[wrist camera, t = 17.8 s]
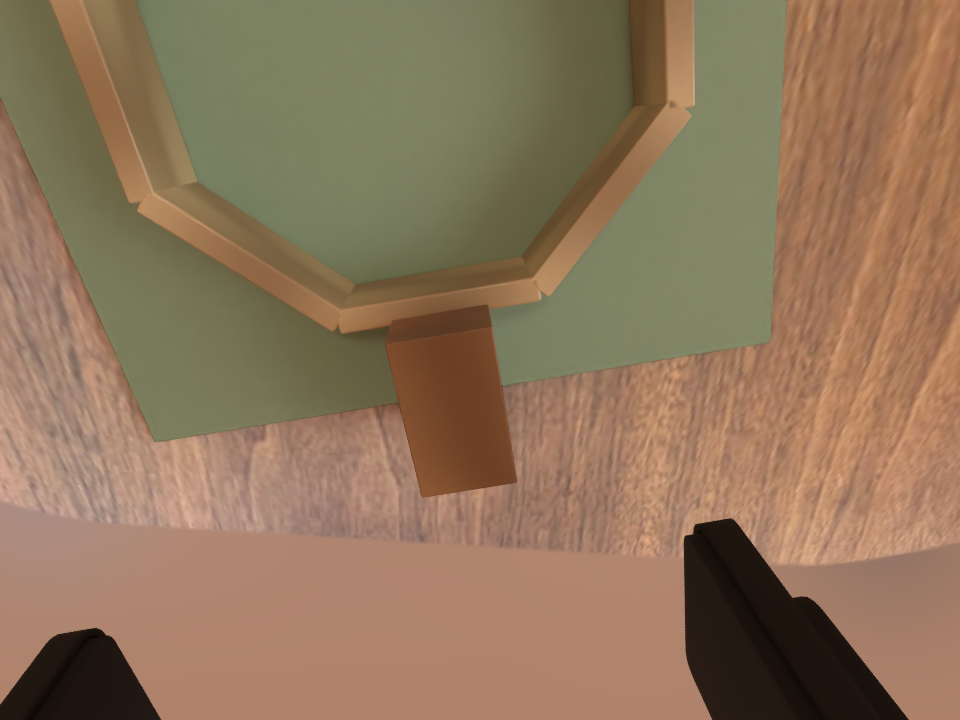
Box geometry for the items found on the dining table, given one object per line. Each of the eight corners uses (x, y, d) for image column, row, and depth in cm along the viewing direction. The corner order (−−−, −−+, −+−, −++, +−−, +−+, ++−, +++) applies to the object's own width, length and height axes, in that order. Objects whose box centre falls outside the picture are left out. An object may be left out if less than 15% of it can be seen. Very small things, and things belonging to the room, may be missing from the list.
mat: (159, 437, 22) (154, 442, 22) (-239, -459, 13) (-258, -476, 12) (765, 339, 22) (770, 342, 21) (810, -667, 12) (820, -691, 12)
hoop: (267, 445, 22) (219, 530, 18) (14, -262, 14) (-200, -450, 9) (667, 381, 22) (724, 450, 17) (643, -382, 14) (740, -637, 9)
